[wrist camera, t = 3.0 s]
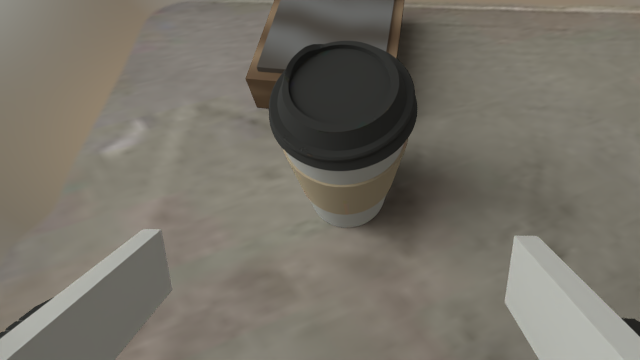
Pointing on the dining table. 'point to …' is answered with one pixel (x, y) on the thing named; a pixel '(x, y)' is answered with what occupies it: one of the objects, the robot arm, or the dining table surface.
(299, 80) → the coffee cup
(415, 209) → the dining table surface
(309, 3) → the walnut block
